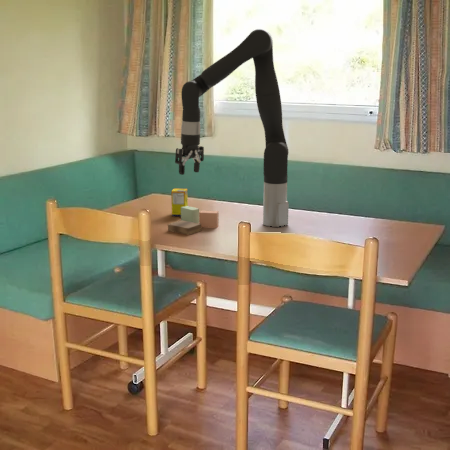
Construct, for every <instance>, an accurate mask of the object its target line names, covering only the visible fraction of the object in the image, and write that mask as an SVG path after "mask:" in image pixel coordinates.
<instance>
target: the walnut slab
mask: <svg viewBox="0 0 450 450" xmlns="http://www.w3.org/2000/svg"><path fill="white" fill-rule="evenodd" d="M200 231H202V227H201V224H199V223H194V222H188V221H183V220H181V219H180V220H177V221H174V222H171V223H168V224H167V232H171V233H172V232H173V233H177V234H181V235H187V236H189V235H192V234H196V233H198V232H200Z"/></svg>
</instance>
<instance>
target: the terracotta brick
mask: <svg viewBox="0 0 450 450" xmlns="http://www.w3.org/2000/svg"><path fill="white" fill-rule="evenodd" d="M219 223H220V222H219V211H218V210H202V209H201V210H199V224H201V228H209V229H211V228H213V229H217V228H218V227H219Z"/></svg>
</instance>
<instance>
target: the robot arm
mask: <svg viewBox="0 0 450 450" xmlns="http://www.w3.org/2000/svg"><path fill="white" fill-rule="evenodd" d="M273 45H274V42H273V37H272V35H271V33H269V32H268V31H267V30H265V29H261V28H257V29H255V30H254V29H253V30H252V31H250V33H249V34H248V35H247V36H246V38H244V39H243V40H242V42H240V44H239V45H237V46H236V47H235V48H234V49H232V50H231V51H229V53H227V54H226V55H224V56H223V57H221V58H220V59H218V60H216V61H215V62H214V63H212V64H211V65H210V66H209V67H207V68H205V69H204V70H203V71H202V72H201V73H200V74H199V75H198V76H196V77H195V78H193V79H192V80H190V81H186V82H185V83H184V84H183V85H182V88H181V105H182V114H181V115H182V117H181V119H182V121H181V127H180V144H181V146H182V147H181V148H176V149H175V155H174V156H175V157H174V159H175V160H174V163H175V164H177V165H178V174H179V175H181V176H182V175H185V169H186V167H185V166H186V165H185V164H186V162H187V161H189V160H191V159H192V160H193V161H194V162H193V173H199V172H200V166H201V165H200V163H201V162H204V160H205V157H204V156H205V154H204V152H205V148H204V146H203V145H202V146H201V145H200V143H201V108H200V97H202V96H203V95H204V94H205V93H207V92H208V91H209V90H210V89H211V88H213V87H215V86H216V85H218V84H220V83H221V82H222V81H224V80H225V79H226V78H228V77H229V76H230V75H231V74H233V72H235V70H237V69H238V68H239V67H240V66H242V65H243V64H245V63H246V62H248V61H250V60H253V65H254V74H255V76H254V77H255V78H254V85H255V86H254V89H255V99H256V106H257V111H258V114H259V118H260V120H261V124H262V126H263V129H264V139H265V140H264V141H265V148H264V151H263V199H262V201H263V204H262V205H263V207H262V209H263V210H262V211H263V212H262V224H263V225H264V226H266V227H270V226H272V227H274V228H280V227H279V226H281V227H285V226H288V225H289V210H290V209H289V206H290V205H289V203H290V202H289V201H288V199H287V198H288V178H289V177H288V161H289V160H288V159H289V147H288V144H287V140H286V137H285V131H284V126H283V110H282V109H283V108H282V99H281V98H282V97H281V94H280V93H281V92H280V87H279V83H278V77H277V73H276V70H275V64H274V63H275V62H274V51H273V49H274V48H273V47H274V46H273ZM287 224H288V225H287ZM284 225H285V226H284Z"/></svg>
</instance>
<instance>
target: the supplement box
mask: <svg viewBox="0 0 450 450" xmlns="http://www.w3.org/2000/svg"><path fill="white" fill-rule="evenodd" d="M170 196H171V216H172V217H181V207H184V206H189V204H188V199H189V198H188V188H179V187H178V188H177V187H176V188H173V189H172V190H171V195H170Z"/></svg>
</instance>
